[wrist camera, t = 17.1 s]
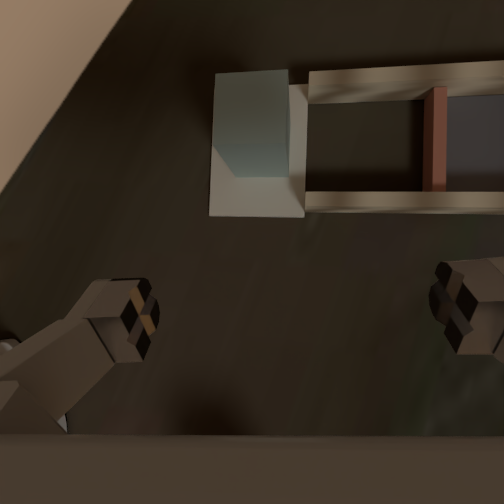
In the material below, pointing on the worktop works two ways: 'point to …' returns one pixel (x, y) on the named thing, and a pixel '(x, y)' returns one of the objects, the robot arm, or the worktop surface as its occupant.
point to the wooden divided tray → (406, 88)
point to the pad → (265, 188)
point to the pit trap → (463, 143)
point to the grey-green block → (253, 122)
